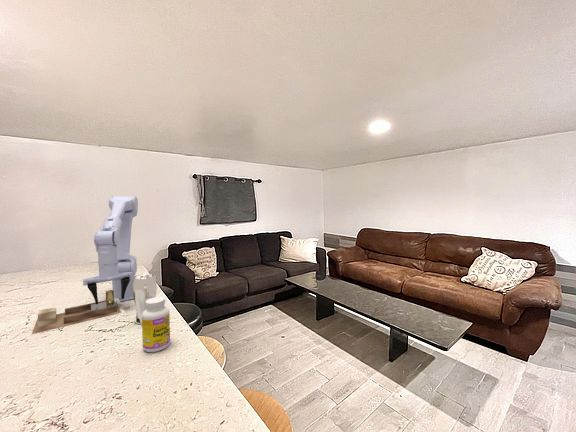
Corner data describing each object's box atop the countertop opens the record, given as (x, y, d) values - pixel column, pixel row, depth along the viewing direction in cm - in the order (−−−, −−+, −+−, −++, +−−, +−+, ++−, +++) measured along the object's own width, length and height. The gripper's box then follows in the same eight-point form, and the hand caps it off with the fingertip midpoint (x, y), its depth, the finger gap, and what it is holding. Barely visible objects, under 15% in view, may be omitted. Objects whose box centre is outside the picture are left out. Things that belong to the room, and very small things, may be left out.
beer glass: (162, 317, 86) (160, 274, 86) (145, 326, 80) (143, 280, 79) (147, 314, 89) (145, 272, 88) (128, 323, 82) (126, 278, 82)
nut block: (56, 318, 83) (56, 307, 83) (55, 323, 80) (55, 310, 80) (39, 322, 81) (39, 310, 81) (38, 327, 78) (37, 314, 78)
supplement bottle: (151, 356, 64) (149, 306, 63) (137, 348, 67) (135, 301, 67) (175, 343, 69) (173, 298, 69) (161, 337, 73) (160, 294, 72)
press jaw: (114, 304, 95) (113, 287, 94) (116, 309, 89) (115, 292, 89) (90, 309, 90) (90, 292, 90) (91, 315, 85) (90, 297, 85)
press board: (116, 305, 98) (116, 296, 98) (121, 316, 87) (120, 307, 87) (37, 322, 84) (37, 312, 84) (31, 339, 73) (31, 327, 73)
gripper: (82, 269, 83) (84, 309, 83) (133, 262, 92) (135, 298, 93) (82, 265, 88) (84, 303, 89) (130, 259, 97) (132, 293, 98)
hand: (110, 300), depth 91 cm, fingers open, 7 cm apart
